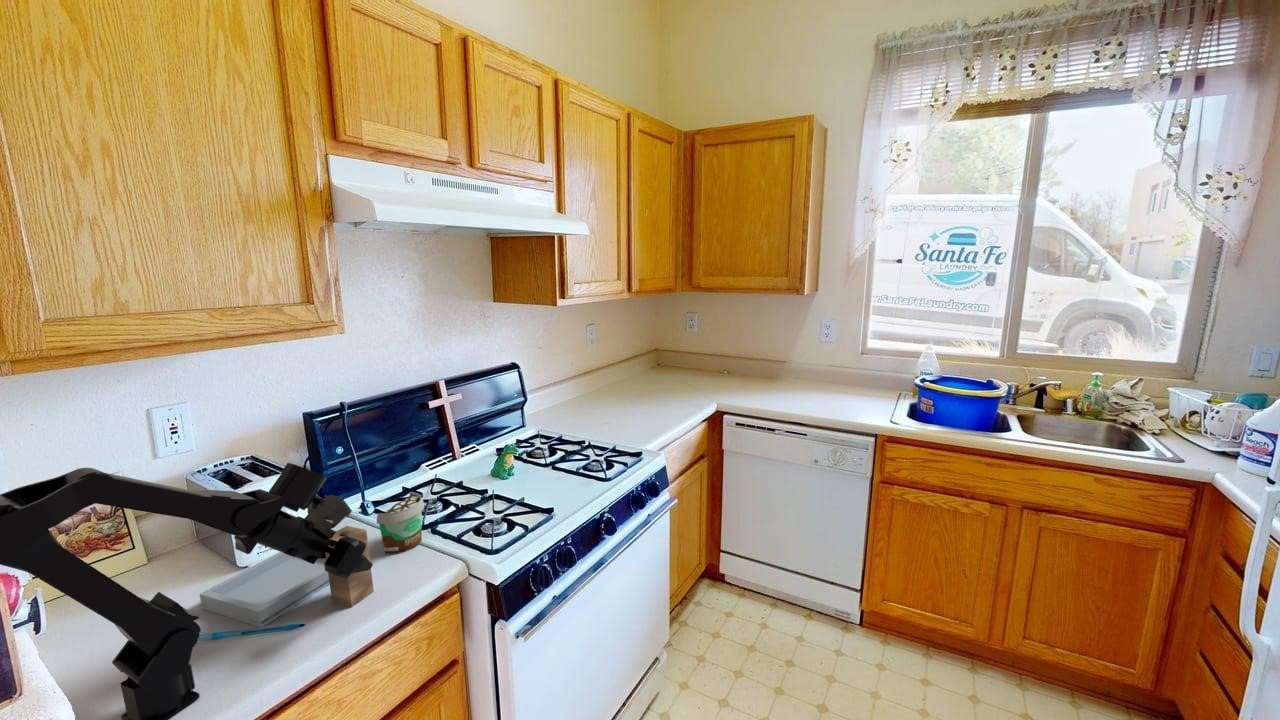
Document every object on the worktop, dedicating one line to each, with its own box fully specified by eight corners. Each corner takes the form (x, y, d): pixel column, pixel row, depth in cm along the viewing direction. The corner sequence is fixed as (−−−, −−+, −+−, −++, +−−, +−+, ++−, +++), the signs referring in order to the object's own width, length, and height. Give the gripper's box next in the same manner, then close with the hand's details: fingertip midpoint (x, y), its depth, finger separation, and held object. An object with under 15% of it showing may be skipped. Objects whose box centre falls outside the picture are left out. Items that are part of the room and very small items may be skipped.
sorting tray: (261, 627, 94) (258, 611, 93) (202, 608, 99) (199, 593, 99) (356, 566, 112) (355, 553, 111) (302, 553, 117) (300, 541, 117)
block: (351, 607, 99) (343, 541, 96) (332, 601, 100) (323, 537, 98) (373, 591, 103) (366, 529, 101) (354, 586, 105) (346, 525, 103)
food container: (405, 560, 114) (401, 517, 112) (380, 557, 115) (375, 514, 114) (438, 532, 126) (434, 492, 124) (415, 530, 127) (411, 490, 125)
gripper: (349, 499, 90) (410, 530, 101) (286, 480, 98) (350, 510, 110) (307, 565, 84) (378, 590, 96) (245, 538, 93) (316, 564, 105)
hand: (355, 560), depth 102 cm, fingers open, 9 cm apart
